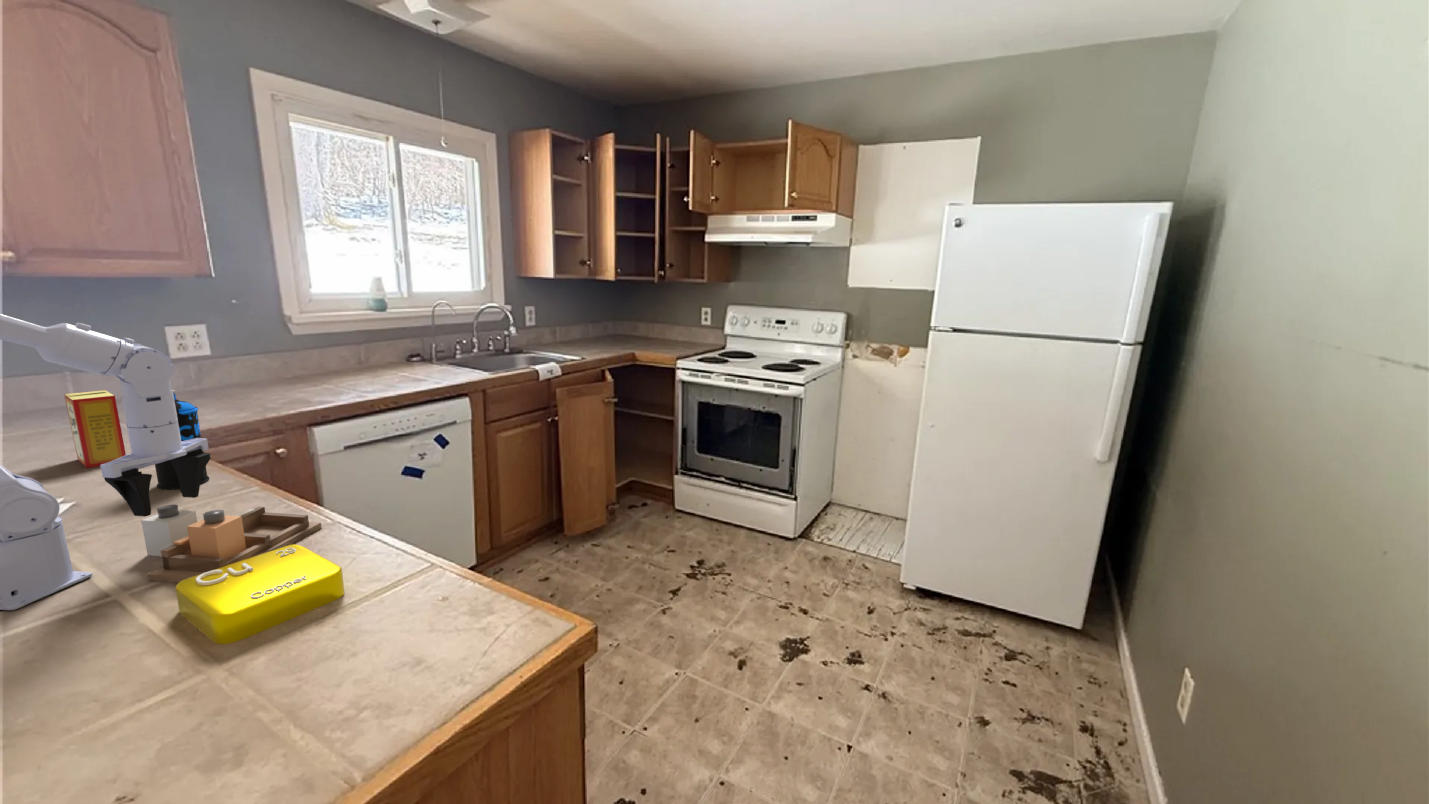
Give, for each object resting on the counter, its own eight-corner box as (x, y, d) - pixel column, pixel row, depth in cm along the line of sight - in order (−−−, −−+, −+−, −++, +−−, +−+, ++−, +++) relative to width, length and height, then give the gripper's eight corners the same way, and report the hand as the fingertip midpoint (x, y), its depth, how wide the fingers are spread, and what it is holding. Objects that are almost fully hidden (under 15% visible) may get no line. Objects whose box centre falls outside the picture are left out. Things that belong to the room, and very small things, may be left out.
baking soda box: (127, 461, 133) (114, 394, 130) (86, 468, 128) (72, 398, 124) (117, 453, 138) (104, 388, 135) (77, 459, 133) (63, 392, 130)
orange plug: (220, 565, 87) (213, 519, 85) (193, 563, 87) (185, 517, 85) (246, 551, 91) (240, 508, 89) (220, 549, 91) (213, 506, 90)
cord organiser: (218, 585, 83) (214, 557, 82) (148, 580, 84) (143, 552, 83) (321, 527, 102) (318, 504, 102) (263, 523, 103) (260, 500, 102)
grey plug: (173, 557, 91) (166, 513, 89) (147, 555, 91) (139, 512, 89) (201, 544, 95) (194, 502, 93) (175, 542, 95) (168, 501, 94)
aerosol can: (147, 491, 116) (129, 395, 112) (172, 477, 124) (157, 387, 120) (195, 488, 118) (180, 394, 114) (217, 475, 126) (204, 386, 122)
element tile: (221, 651, 70) (215, 616, 69) (174, 612, 77) (168, 579, 76) (351, 596, 82) (347, 565, 81) (300, 566, 90) (296, 538, 89)
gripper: (125, 437, 81) (143, 526, 84) (220, 414, 95) (231, 490, 98) (80, 434, 82) (99, 523, 85) (180, 412, 96) (193, 488, 99)
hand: (167, 505), depth 91 cm, fingers open, 7 cm apart
